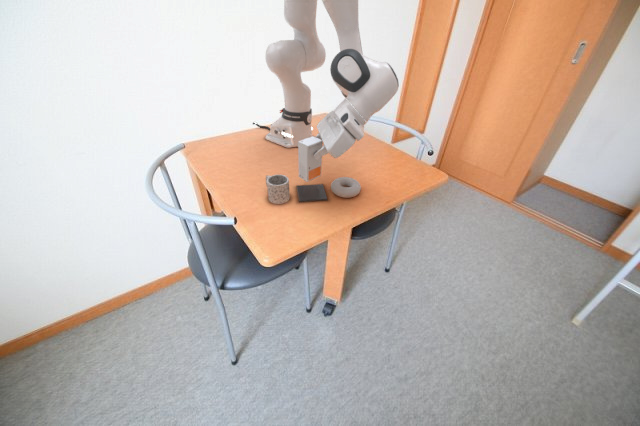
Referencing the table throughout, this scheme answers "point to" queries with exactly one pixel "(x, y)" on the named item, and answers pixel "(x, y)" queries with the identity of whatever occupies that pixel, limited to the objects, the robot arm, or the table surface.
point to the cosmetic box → (309, 158)
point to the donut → (345, 187)
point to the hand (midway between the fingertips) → (313, 152)
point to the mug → (278, 188)
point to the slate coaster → (311, 193)
